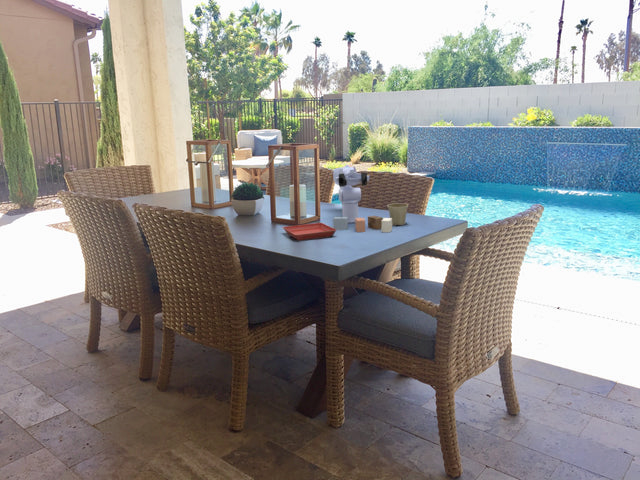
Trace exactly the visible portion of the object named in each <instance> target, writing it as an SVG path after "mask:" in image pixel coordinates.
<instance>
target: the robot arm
mask: <svg viewBox="0 0 640 480" xmlns="http://www.w3.org/2000/svg"><path fill="white" fill-rule="evenodd" d="M332 174H333V176H332V177H333V182H334V184H335V185H337V186H338V187H339V189H338V200H339V202H340V203H342V206H341V207H342V217H347V219H348V224H349V223H355V218H359V202H360V201H361V200H362V190H361V188H360V187H358V186H357V185H359V184H361V186H367V185H368V182H369V181H370V175H368V173H367V172H361V173H359V172H357V169H356V167H355V166H349V164H345V165H344V166H342V167H337V168H334V169H333V171H332ZM353 186H354V187H353ZM355 186H357V187H355Z"/></svg>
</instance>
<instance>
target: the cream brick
mask: <svg viewBox="0 0 640 480" xmlns="http://www.w3.org/2000/svg"><path fill="white" fill-rule="evenodd" d="M392 230H393V225H392V218H390V217H383V220H382V229H381V233H391V232H392Z"/></svg>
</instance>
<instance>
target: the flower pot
mask: <svg viewBox="0 0 640 480" xmlns="http://www.w3.org/2000/svg"><path fill="white" fill-rule="evenodd" d="M386 207H387V209H388V212H389V218H392V226H404V225H405V224H406V219H407V218H406V217H407V211H408V207H409V204H407V203H401V202H400V203H390V204H389V203H388V204H387V205H386Z"/></svg>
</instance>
